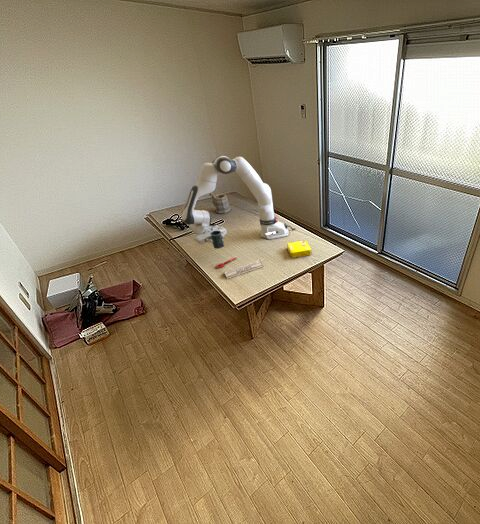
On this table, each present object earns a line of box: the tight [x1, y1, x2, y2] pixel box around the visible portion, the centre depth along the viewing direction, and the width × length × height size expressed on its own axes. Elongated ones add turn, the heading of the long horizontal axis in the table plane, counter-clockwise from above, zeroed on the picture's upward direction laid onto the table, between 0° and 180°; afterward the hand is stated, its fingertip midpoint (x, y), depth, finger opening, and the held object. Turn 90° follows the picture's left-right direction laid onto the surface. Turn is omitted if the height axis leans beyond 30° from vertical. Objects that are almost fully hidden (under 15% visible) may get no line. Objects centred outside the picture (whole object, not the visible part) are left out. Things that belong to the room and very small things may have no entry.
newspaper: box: [223, 260, 263, 280], centre depth 184 cm, size 24×7×2 cm, turn 124°
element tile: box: [286, 239, 312, 259], centre depth 203 cm, size 15×15×5 cm
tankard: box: [208, 192, 231, 214], centre depth 260 cm, size 20×13×15 cm, turn 58°
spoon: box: [215, 257, 237, 269], centre depth 191 cm, size 15×4×1 cm, turn 141°
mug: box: [210, 231, 225, 249], centre depth 186 cm, size 10×7×10 cm
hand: (217, 239), depth 186 cm, fingers closed on mug, 7 cm apart
